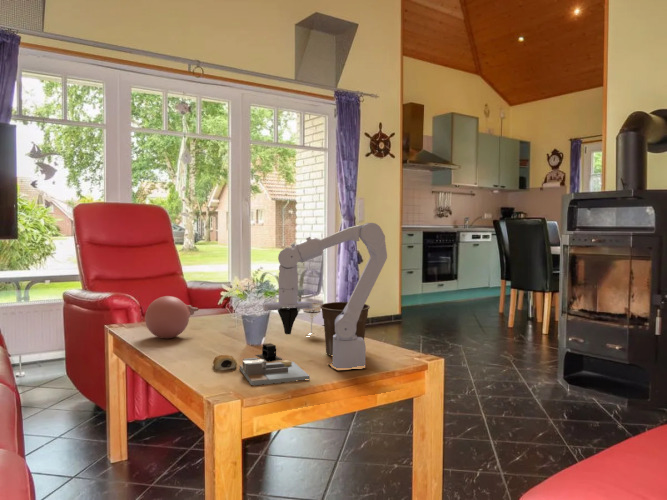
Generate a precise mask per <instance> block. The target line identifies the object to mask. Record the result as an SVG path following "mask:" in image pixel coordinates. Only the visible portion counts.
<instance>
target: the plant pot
mask: <svg viewBox="0 0 667 500" xmlns="http://www.w3.org/2000/svg"><path fill="white" fill-rule="evenodd" d="M347 303H348V301H335V302H332V301H331V302H326V303H322V304H320V308H321V315H322V319H323V326H324V327H323V328H324V330H323V331H324V339H325V341H324V342H325V353H327V354H330V355H333V335H335V334H336V333H335V319H336V317H337V316H338V315H339V314H341V313H342V312H343V310H344V308H345V306H346V305H347ZM370 308H371V307H370V305H369V304H366V303H365V304H364V306H363V308H362V311H361V313H360V317H359V320H358V322H357V325H356V333H355V335H357V337H362V338H363V339H364V340H365V337H366V336H365V335H366V325H367V320H368V315H369V309H370ZM327 354H326V355H327Z"/></svg>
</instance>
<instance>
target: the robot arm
mask: <svg viewBox="0 0 667 500" xmlns="http://www.w3.org/2000/svg"><path fill="white" fill-rule="evenodd" d="M305 239H306V240H303V241H301V242H299V243H292V244H291V247H285V248H283V249H282V250H280V252H279V253H278V256H277V258H278V259H277V260H278V263H279V267H278V270H279V272H278V301H276V302H265V303H263V307H262V309H263V311H264V312H269V311H277V313H278V315H279V317H280V319H281V322H282V326H283V330H284V334H285V335H292V329H293V326H294V323H295V320H296V319H297V317H298V315H299V310H303V309H312V303H313V302H311V301H299V299H298V298H299V297H298V296H299V273H298V263H301V264H302V263H305V262H308V261H309V260H313V259H315V258H318V257H320V256H322V255H323V252H324V250H326V249H328V248H331V247H335V246H337V245H340V244H343V243H346V242H348V241H353V242H354V241H355V242H360V240H361V241H362V243H363V244H364V245H365V247H366V249H367V253H368V255H369V258H368V260H367V262H366V263H365V266H364V268H363V270H362V273H361V275H360V277H359V278H358V281H357V283H356V285H355V287H354V289H353V292H352V294H351V296H350V297H349V299H348V301H347V302H348V303H347V305H346V306H345V308H344V310H343V312H342V313H341V314H339V315H338V316H337V317H336V319H335V333H336V334H335V335H333V357H332V363H333V364H332V365H333V366H334V367H336V368H352V367H357V366H364V365H365V366H366V350H367V349H366V347H367V346H366V343H365V338H364V339H363V338H362V337H357V335H355V333H356V325H357V322H358V320H359V317H360V313H361V311H362V308H363V306H364V304H366V302H367V300H368V299H369V296H370V295H371V292H372V290H373V287H374V286H375V284H376V281H377V280H378V278H379V276H380V273H381V272H382V270H383V267H384V266H385V263H386V262H387V259H388V252H387V251H388V250H387V245H386V243H387V242H386V236H385V233H384V232H383V229H382V228H381V226H380V225H379V224H378V223H376V222H365V223H364V224H358V225H354V226H349V227H347V228H345V229H343V230H339V231H337V232H335V233H333V234H330V235H329V236H326V237H324V238H322V239H320V238H319V237H312V236H308V237H306V238H305Z"/></svg>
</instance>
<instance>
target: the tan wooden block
mask: <svg viewBox="0 0 667 500" xmlns="http://www.w3.org/2000/svg"><path fill="white" fill-rule="evenodd" d="M256 362H262V369H266V363H267V361H265V360H264V359H261V358H260V359H259V358H258V360H245V361H243V360H242V365H243V372H244V373H247V363H256Z"/></svg>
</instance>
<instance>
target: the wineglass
mask: <svg viewBox="0 0 667 500" xmlns="http://www.w3.org/2000/svg"><path fill="white" fill-rule="evenodd" d="M320 306H321V303H319V302H312V309H302V311H303V314H304V315H305V316H306V317H308V318H309V319H310V333H307V334H308V335H311V334H315V333H313V319H315V318H316V317H317V316H319V314H320V313H321V311H322V309H321V308H320Z"/></svg>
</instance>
